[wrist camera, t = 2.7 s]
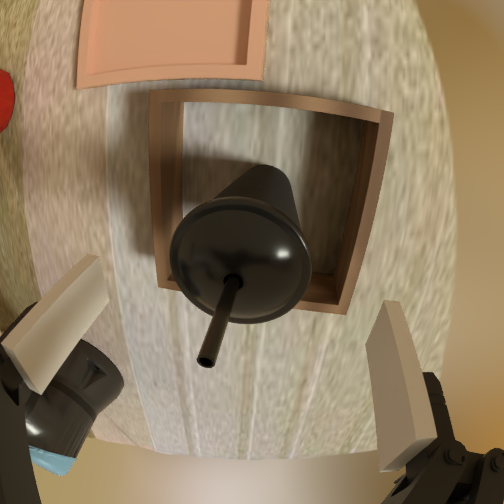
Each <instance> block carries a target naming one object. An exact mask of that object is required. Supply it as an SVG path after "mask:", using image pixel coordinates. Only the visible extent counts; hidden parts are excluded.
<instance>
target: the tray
mask: <svg viewBox="0 0 504 504" xmlns="http://www.w3.org/2000/svg"><path fill="white" fill-rule="evenodd" d="M269 8H270V0H84V6H83V13H82V20H81V29H80V38H79V50H78V66H77V89H85V88H93V87H100V86H107V85H115V84H123V83H133V82H144V81H159V80H181V79H228V80H250V81H263V79H264V67H265V55H266V43H267V32H268V20H269Z"/></svg>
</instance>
